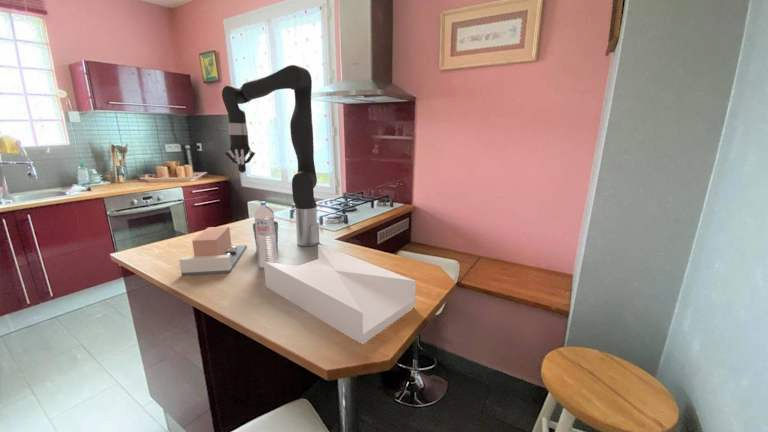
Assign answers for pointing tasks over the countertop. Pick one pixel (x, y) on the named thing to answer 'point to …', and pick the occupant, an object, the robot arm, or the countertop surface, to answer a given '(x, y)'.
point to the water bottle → (265, 235)
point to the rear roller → (231, 249)
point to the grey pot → (275, 233)
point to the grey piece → (210, 263)
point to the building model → (344, 292)
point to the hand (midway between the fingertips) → (242, 172)
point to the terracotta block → (212, 241)
